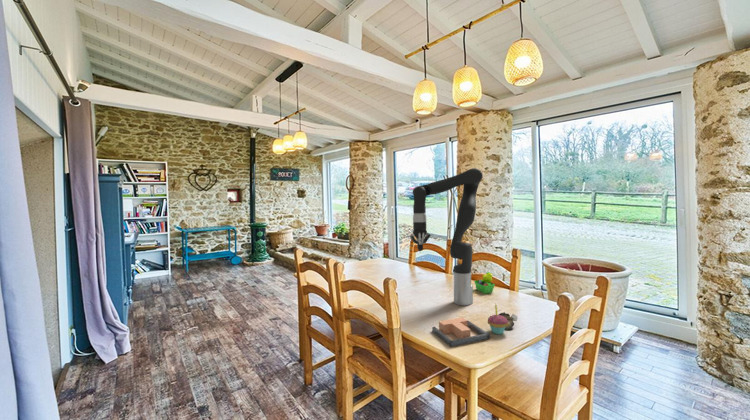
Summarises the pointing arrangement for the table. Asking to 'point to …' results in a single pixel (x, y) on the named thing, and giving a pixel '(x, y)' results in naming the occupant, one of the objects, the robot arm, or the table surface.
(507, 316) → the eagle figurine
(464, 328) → the T-block
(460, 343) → the rail bay
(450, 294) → the table surface
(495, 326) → the cupcake
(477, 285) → the fruit basket
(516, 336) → the table surface
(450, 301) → the table surface
